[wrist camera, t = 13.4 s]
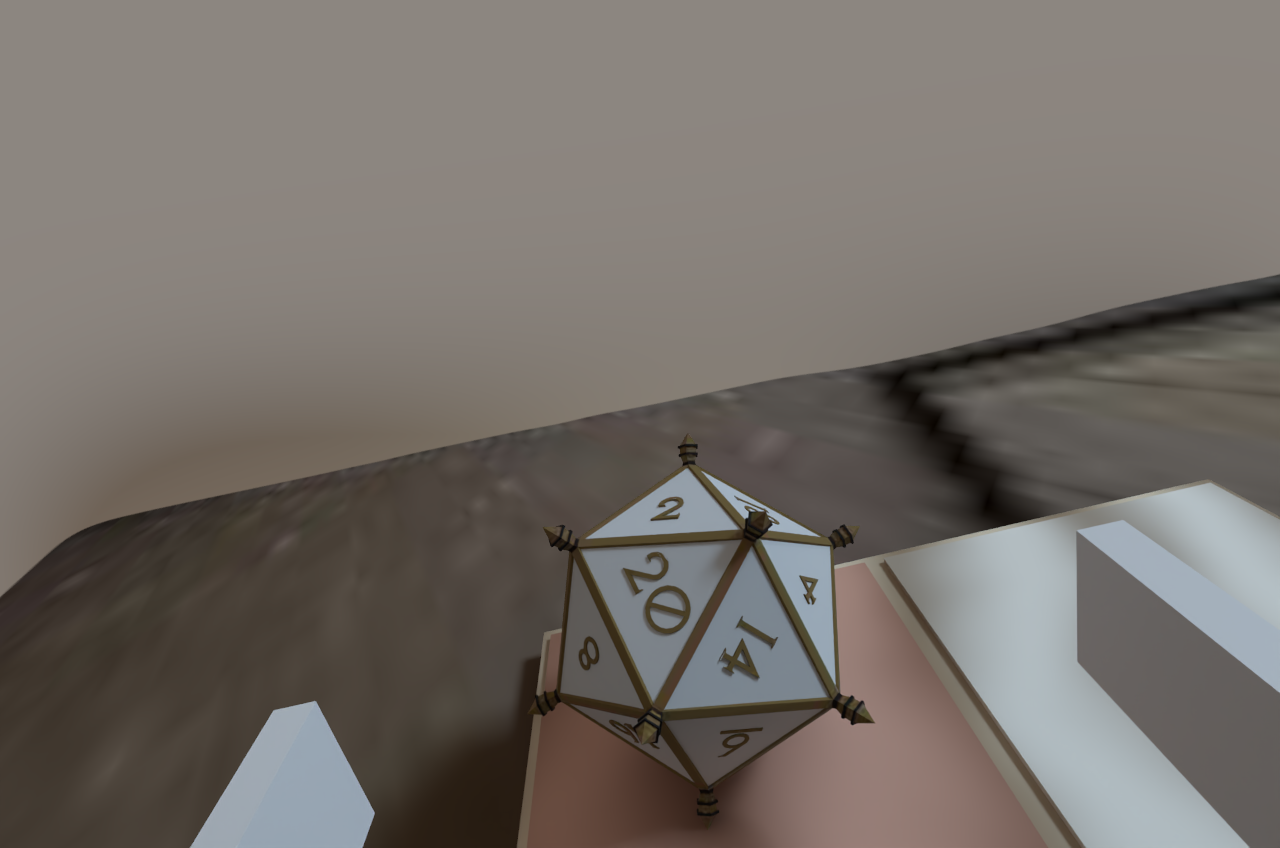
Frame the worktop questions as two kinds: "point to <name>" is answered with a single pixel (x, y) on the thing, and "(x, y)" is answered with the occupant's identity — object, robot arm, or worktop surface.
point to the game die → (700, 627)
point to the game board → (936, 710)
